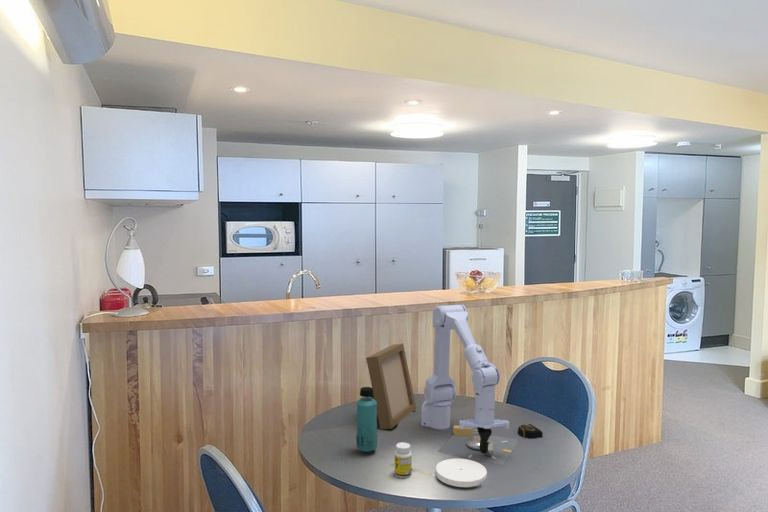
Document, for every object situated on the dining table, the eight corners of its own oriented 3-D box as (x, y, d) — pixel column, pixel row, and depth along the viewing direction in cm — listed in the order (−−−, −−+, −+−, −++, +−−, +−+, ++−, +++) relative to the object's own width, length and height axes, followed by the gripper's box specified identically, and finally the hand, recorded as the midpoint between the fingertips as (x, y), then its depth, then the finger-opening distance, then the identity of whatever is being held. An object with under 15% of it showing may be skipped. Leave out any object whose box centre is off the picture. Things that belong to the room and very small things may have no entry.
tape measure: (543, 441, 174) (543, 430, 174) (525, 443, 172) (525, 432, 172) (531, 433, 180) (531, 422, 180) (513, 435, 178) (514, 424, 178)
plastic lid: (438, 464, 157) (439, 456, 157) (487, 469, 154) (487, 461, 154) (432, 487, 143) (432, 478, 143) (485, 493, 140) (485, 484, 140)
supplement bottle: (393, 470, 152) (393, 441, 152) (410, 470, 153) (410, 441, 152) (395, 478, 147) (395, 449, 147) (412, 478, 148) (412, 448, 147)
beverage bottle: (380, 449, 166) (380, 385, 165) (372, 458, 160) (373, 392, 159) (360, 446, 168) (360, 383, 167) (352, 454, 162) (352, 389, 161)
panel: (437, 455, 162) (437, 450, 162) (458, 432, 180) (458, 428, 180) (502, 469, 153) (502, 464, 153) (518, 444, 171) (518, 439, 171)
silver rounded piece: (462, 441, 170) (462, 428, 169) (485, 438, 172) (485, 426, 171) (478, 457, 158) (478, 444, 158) (503, 455, 160) (503, 441, 159)
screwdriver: (454, 435, 175) (454, 428, 174) (453, 432, 177) (453, 425, 177) (491, 436, 174) (491, 429, 174) (490, 433, 177) (490, 426, 176)
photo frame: (416, 411, 200) (417, 344, 199) (391, 431, 181) (392, 358, 179) (380, 405, 207) (381, 340, 205) (353, 424, 187) (353, 353, 186)
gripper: (462, 411, 154) (461, 457, 155) (512, 411, 155) (511, 457, 156) (458, 403, 161) (457, 447, 162) (506, 403, 162) (504, 447, 163)
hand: (483, 451), depth 160 cm, fingers closed, pressing on silver rounded piece
